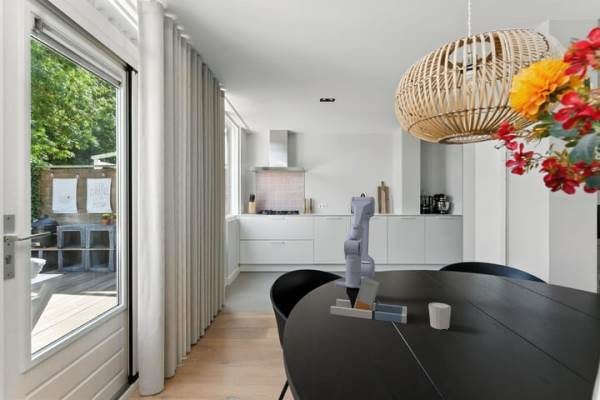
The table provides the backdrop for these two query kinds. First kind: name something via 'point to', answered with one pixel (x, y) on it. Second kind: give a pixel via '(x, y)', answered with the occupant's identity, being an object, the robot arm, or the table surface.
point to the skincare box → (366, 294)
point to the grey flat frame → (393, 311)
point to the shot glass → (439, 315)
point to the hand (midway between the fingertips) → (353, 307)
